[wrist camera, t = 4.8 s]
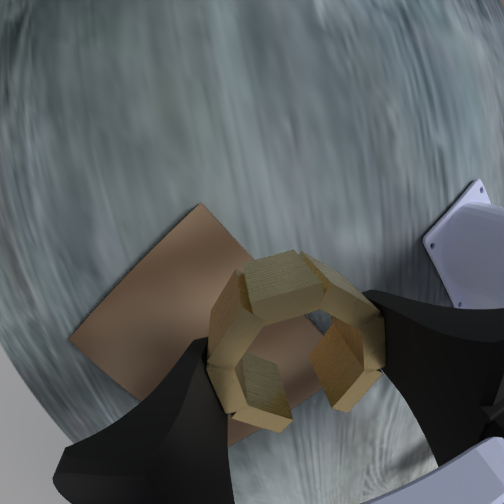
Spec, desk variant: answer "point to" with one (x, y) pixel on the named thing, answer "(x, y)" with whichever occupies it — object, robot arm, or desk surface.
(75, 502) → the robot arm
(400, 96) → the desk surface
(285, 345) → the post stand
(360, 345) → the brass collar
